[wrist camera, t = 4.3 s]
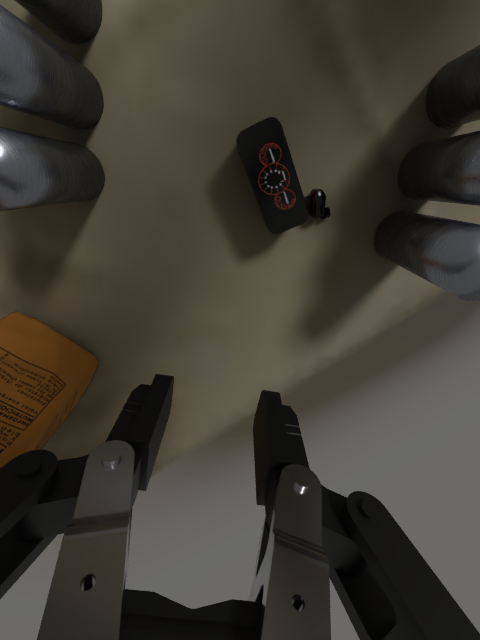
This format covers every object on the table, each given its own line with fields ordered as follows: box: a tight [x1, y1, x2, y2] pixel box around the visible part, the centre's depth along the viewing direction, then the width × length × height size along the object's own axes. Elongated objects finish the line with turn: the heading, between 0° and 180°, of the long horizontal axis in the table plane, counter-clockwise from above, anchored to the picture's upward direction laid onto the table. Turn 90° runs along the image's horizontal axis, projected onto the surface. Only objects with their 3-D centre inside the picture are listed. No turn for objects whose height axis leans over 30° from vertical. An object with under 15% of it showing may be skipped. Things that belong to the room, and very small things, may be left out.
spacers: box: [0, 0, 480, 301], centre depth 16 cm, size 13×28×9 cm, turn 80°
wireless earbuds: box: [237, 117, 330, 234], centre depth 20 cm, size 5×7×3 cm, turn 23°
